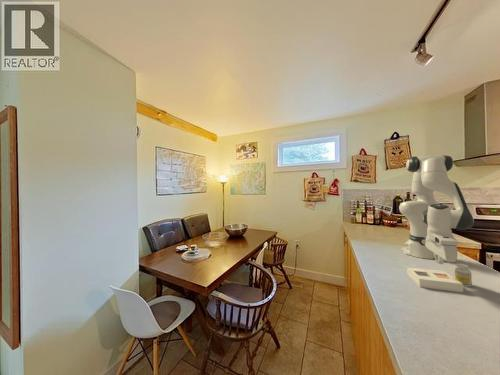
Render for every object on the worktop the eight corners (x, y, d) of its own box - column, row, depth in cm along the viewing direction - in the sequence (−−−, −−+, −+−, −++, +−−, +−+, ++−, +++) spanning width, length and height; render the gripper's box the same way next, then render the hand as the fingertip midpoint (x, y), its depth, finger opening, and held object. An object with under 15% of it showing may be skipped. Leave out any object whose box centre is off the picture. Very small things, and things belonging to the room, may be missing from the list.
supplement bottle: (465, 287, 89) (464, 267, 90) (452, 282, 95) (451, 263, 95) (475, 286, 90) (474, 267, 90) (461, 281, 95) (460, 262, 95)
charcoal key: (414, 277, 100) (414, 272, 100) (426, 279, 98) (426, 273, 98) (419, 282, 95) (418, 276, 95) (431, 283, 93) (431, 277, 93)
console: (407, 274, 104) (407, 267, 104) (444, 278, 99) (444, 271, 99) (419, 286, 91) (419, 278, 91) (463, 292, 86) (462, 283, 86)
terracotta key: (433, 280, 97) (433, 274, 97) (446, 281, 95) (445, 275, 95) (439, 284, 92) (439, 278, 92) (452, 286, 90) (452, 280, 90)
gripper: (421, 230, 105) (421, 254, 105) (442, 241, 86) (442, 271, 86) (435, 231, 103) (436, 256, 103) (460, 243, 84) (461, 273, 84)
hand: (439, 263), depth 95 cm, fingers closed
